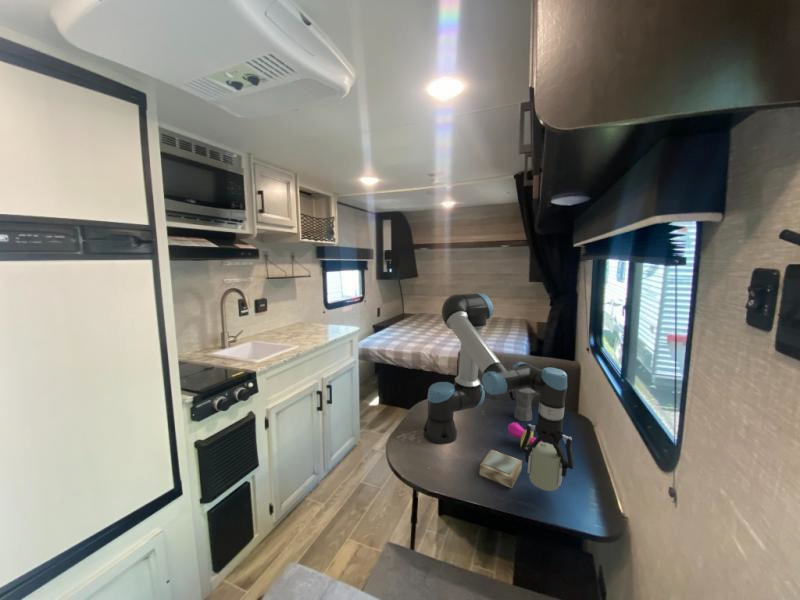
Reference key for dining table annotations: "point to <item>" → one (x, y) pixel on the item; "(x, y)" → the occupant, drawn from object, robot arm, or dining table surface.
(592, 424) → the dining table surface
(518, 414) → the coffeepot
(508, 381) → the robot arm
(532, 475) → the can
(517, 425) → the toy
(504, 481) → the pedestal
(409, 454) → the dining table surface
